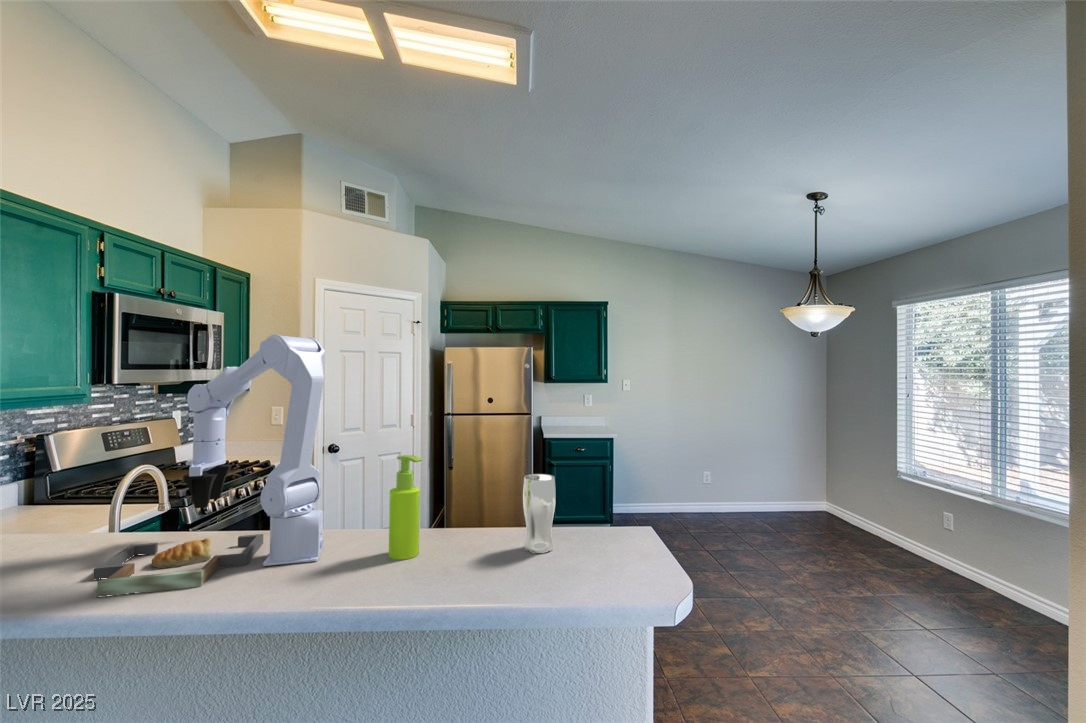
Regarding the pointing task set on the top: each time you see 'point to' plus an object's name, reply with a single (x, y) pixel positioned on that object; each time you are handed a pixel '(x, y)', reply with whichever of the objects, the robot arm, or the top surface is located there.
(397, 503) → the soap dispenser
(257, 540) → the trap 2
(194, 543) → the pastry
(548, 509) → the beer glass
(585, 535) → the top surface
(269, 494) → the robot arm
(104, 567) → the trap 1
